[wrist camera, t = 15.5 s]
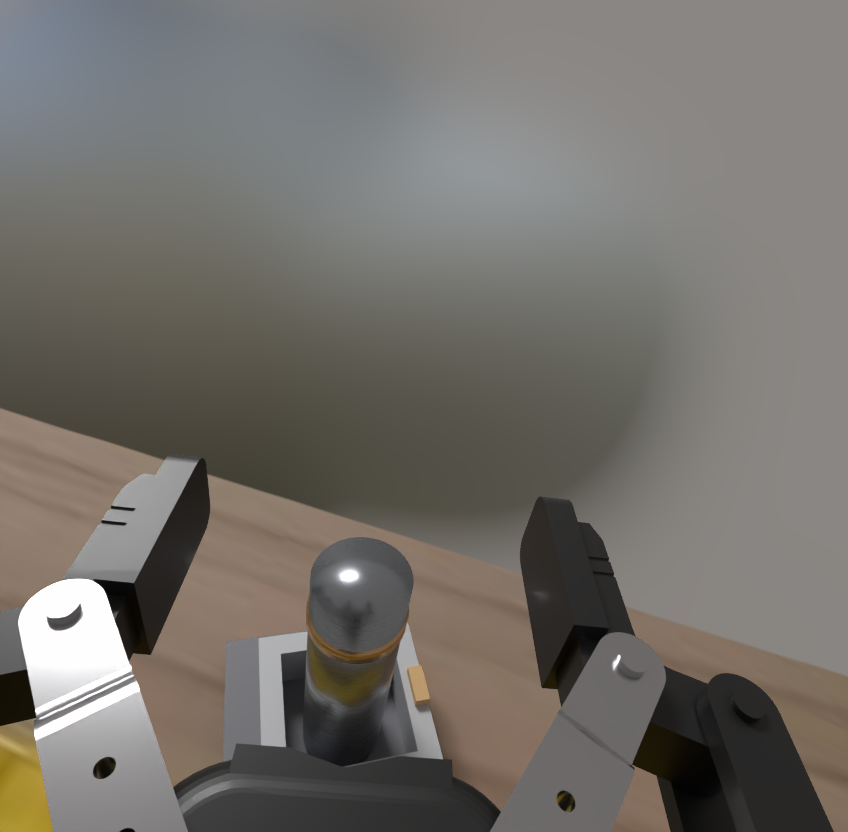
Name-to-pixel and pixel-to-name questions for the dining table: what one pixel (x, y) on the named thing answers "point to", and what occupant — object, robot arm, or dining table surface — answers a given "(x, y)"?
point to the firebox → (284, 699)
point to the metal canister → (352, 646)
